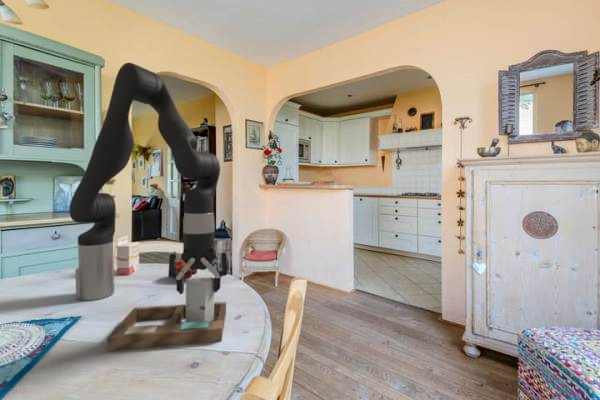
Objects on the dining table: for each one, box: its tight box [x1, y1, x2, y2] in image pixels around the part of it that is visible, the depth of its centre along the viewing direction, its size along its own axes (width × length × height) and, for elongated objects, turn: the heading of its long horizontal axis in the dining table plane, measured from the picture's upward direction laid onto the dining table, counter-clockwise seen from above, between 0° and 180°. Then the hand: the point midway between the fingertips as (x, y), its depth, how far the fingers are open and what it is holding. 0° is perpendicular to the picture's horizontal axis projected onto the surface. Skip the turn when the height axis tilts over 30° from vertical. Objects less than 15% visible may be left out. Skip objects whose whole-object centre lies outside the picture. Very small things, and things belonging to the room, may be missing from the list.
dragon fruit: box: [172, 258, 198, 280], centre depth 108 cm, size 8×8×12 cm
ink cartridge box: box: [116, 235, 140, 276], centre depth 116 cm, size 9×5×15 cm, turn 5°
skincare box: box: [185, 274, 215, 323], centre depth 73 cm, size 6×4×12 cm
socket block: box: [106, 301, 227, 352], centre depth 71 cm, size 24×15×3 cm, turn 101°
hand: (199, 292), depth 73 cm, fingers open, 8 cm apart
